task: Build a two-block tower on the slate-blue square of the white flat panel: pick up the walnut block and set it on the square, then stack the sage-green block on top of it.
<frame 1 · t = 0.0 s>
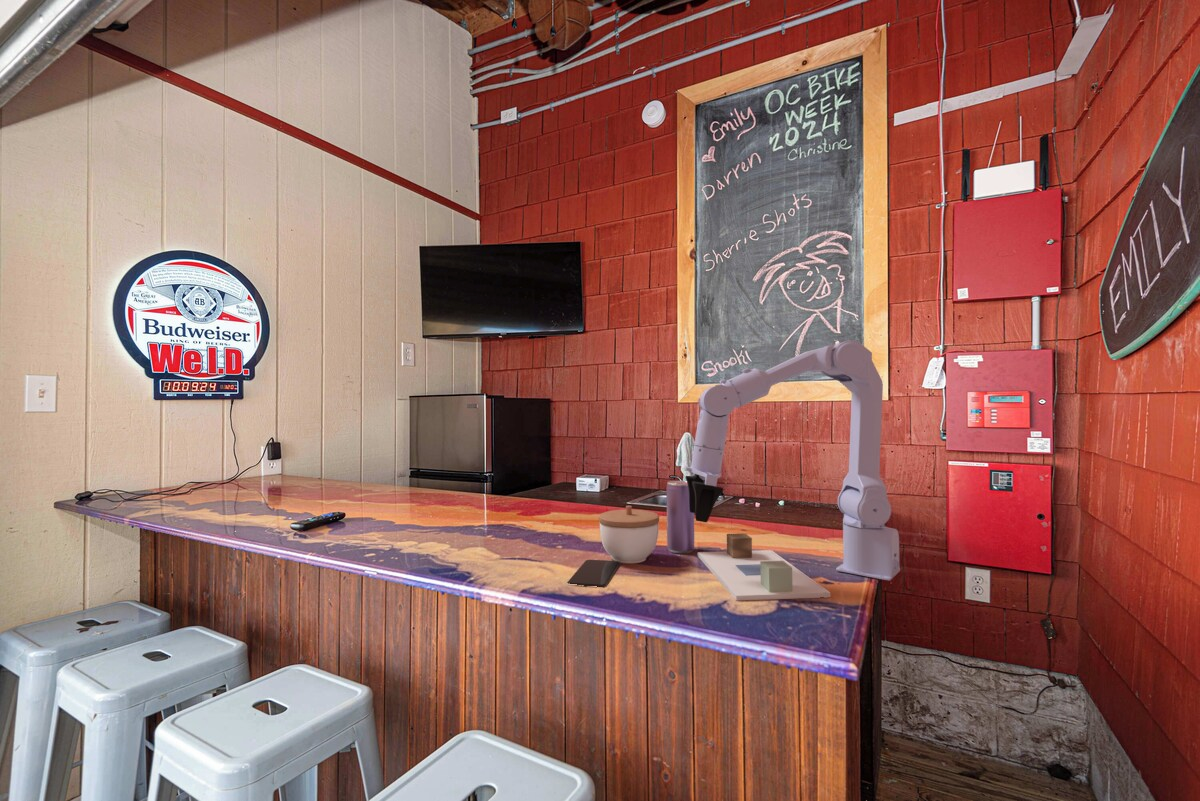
hand: (698, 516, 106), 11 cm above the table, tool pointing down, fingers open, 7 cm apart
white flat panel: (756, 574, 104), on the table
smartphone: (594, 576, 105), on the table
walnut block: (739, 555, 114), point 1 cm above the table, touching white flat panel
lidded bowl: (629, 559, 115), on the table
beverage can: (680, 551, 121), on the table
sage block: (776, 587, 94), point 1 cm above the table, touching white flat panel
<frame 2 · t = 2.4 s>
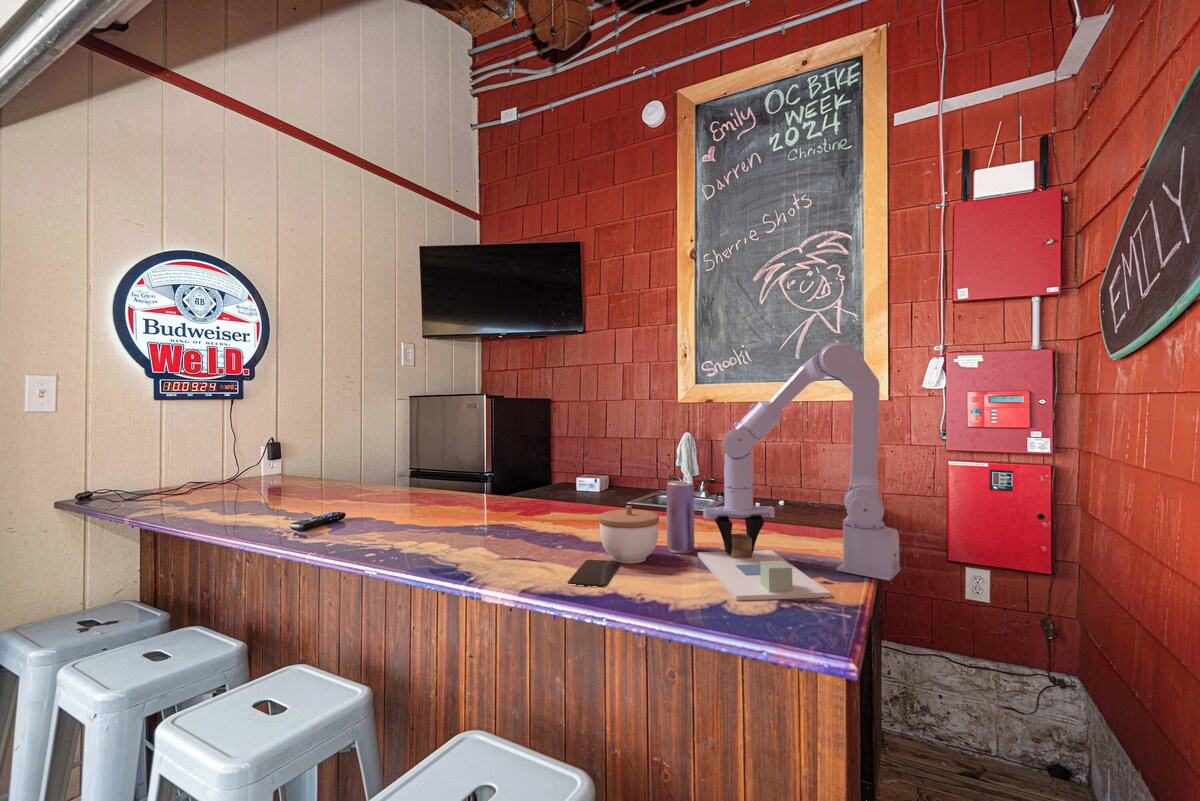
hand: (739, 552, 114), 1 cm above the table, tool pointing down, fingers closed on walnut block, 4 cm apart
walnut block: (739, 555, 114), point 1 cm above the table, touching white flat panel, gripper
everything else where it was.
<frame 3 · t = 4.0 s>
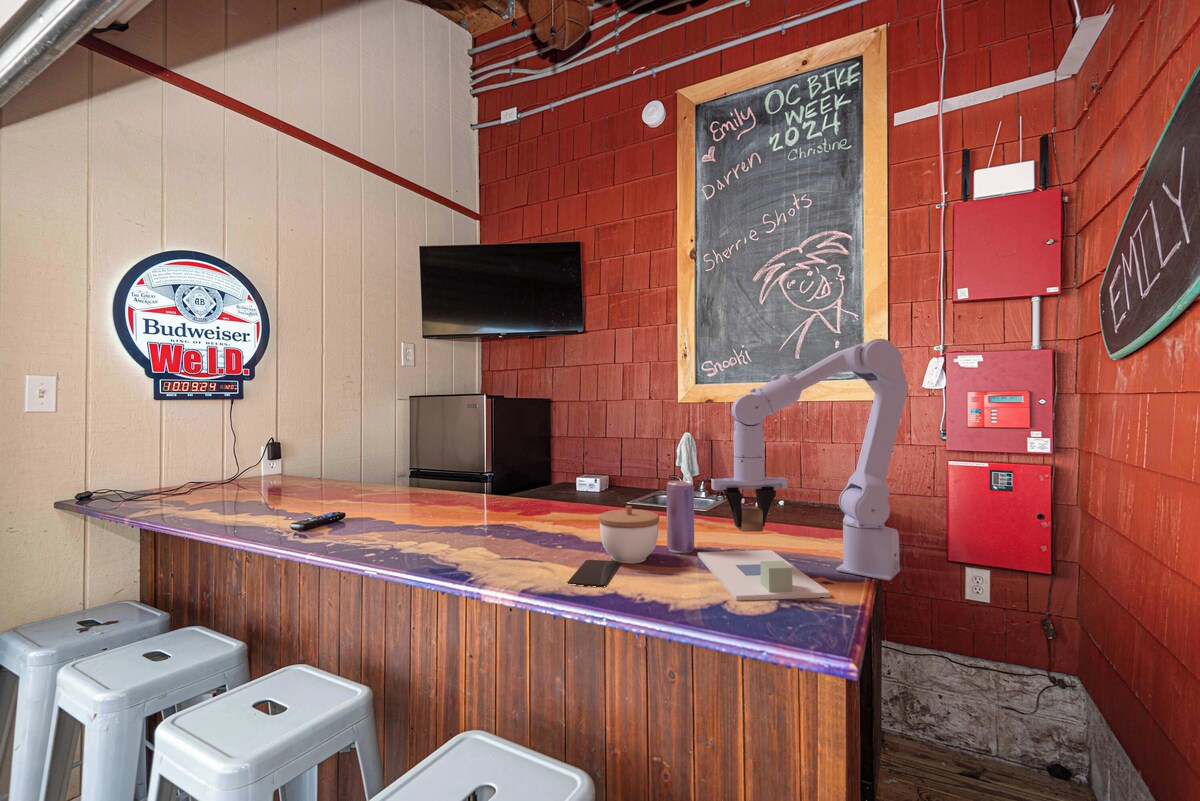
hand: (749, 525, 107), 8 cm above the table, tool pointing down, fingers closed on walnut block, 4 cm apart
walnut block: (749, 529, 107), point 8 cm above the table, touching gripper
everything else where it was.
when the fingers open (3 cm above the table, at t = 5.8 s): walnut block stays where it is, resting on white flat panel.
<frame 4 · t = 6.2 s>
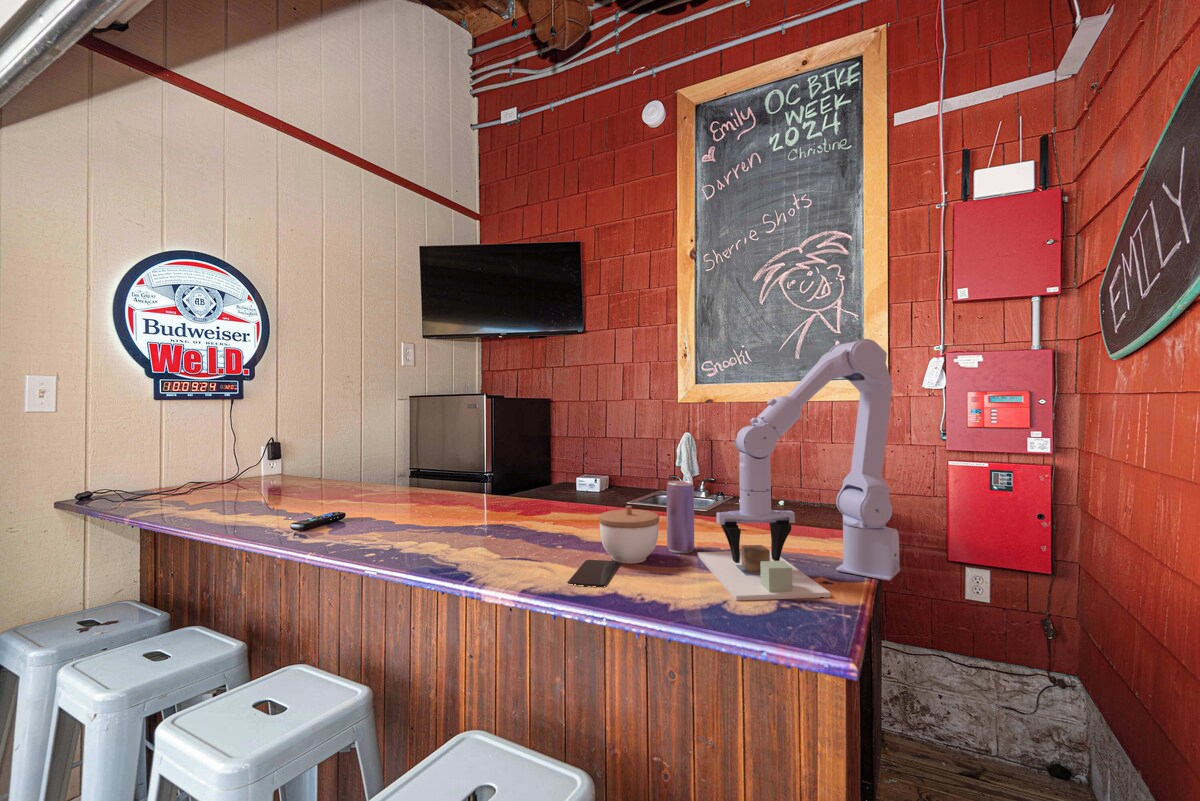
hand: (755, 560, 104), 3 cm above the table, tool pointing down, fingers open, 7 cm apart
walnut block: (755, 569, 104), point 1 cm above the table, touching white flat panel
everything else where it was.
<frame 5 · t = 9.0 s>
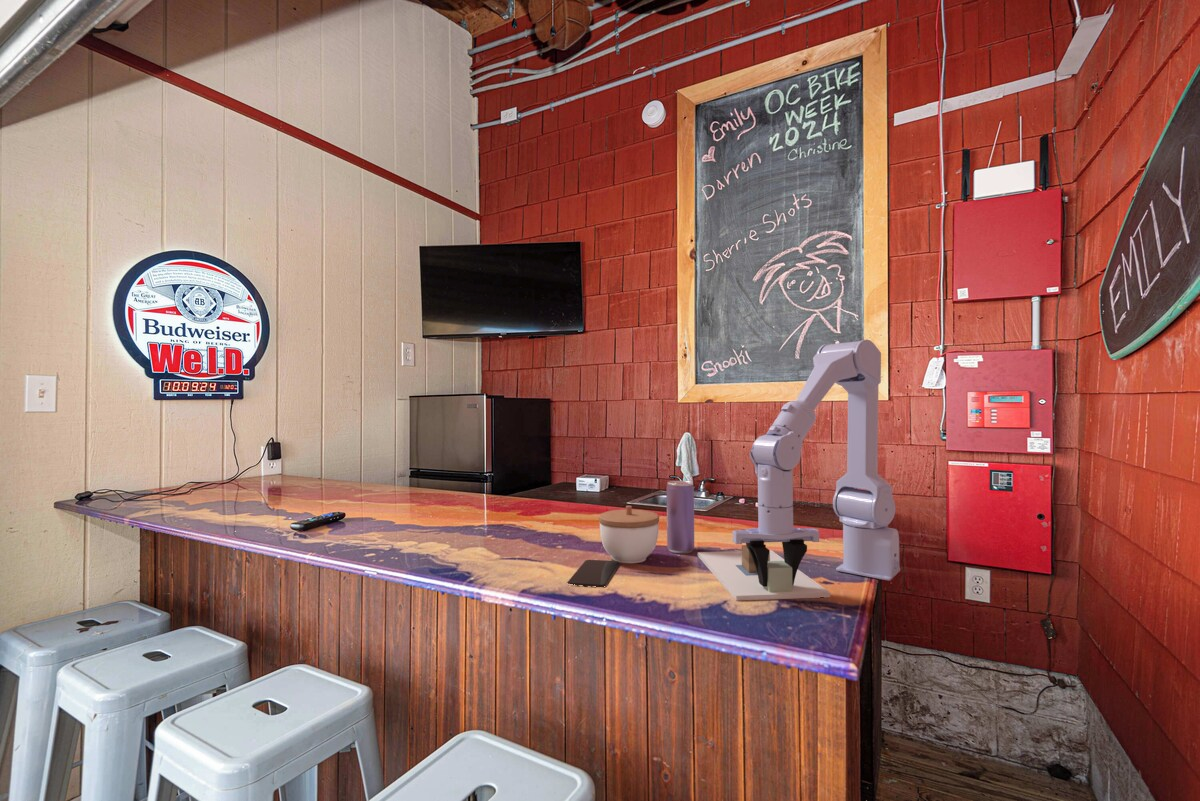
hand: (776, 584, 94), 1 cm above the table, tool pointing down, fingers closed on sage block, 4 cm apart
sage block: (776, 587, 94), point 1 cm above the table, touching white flat panel, gripper
everything else where it was.
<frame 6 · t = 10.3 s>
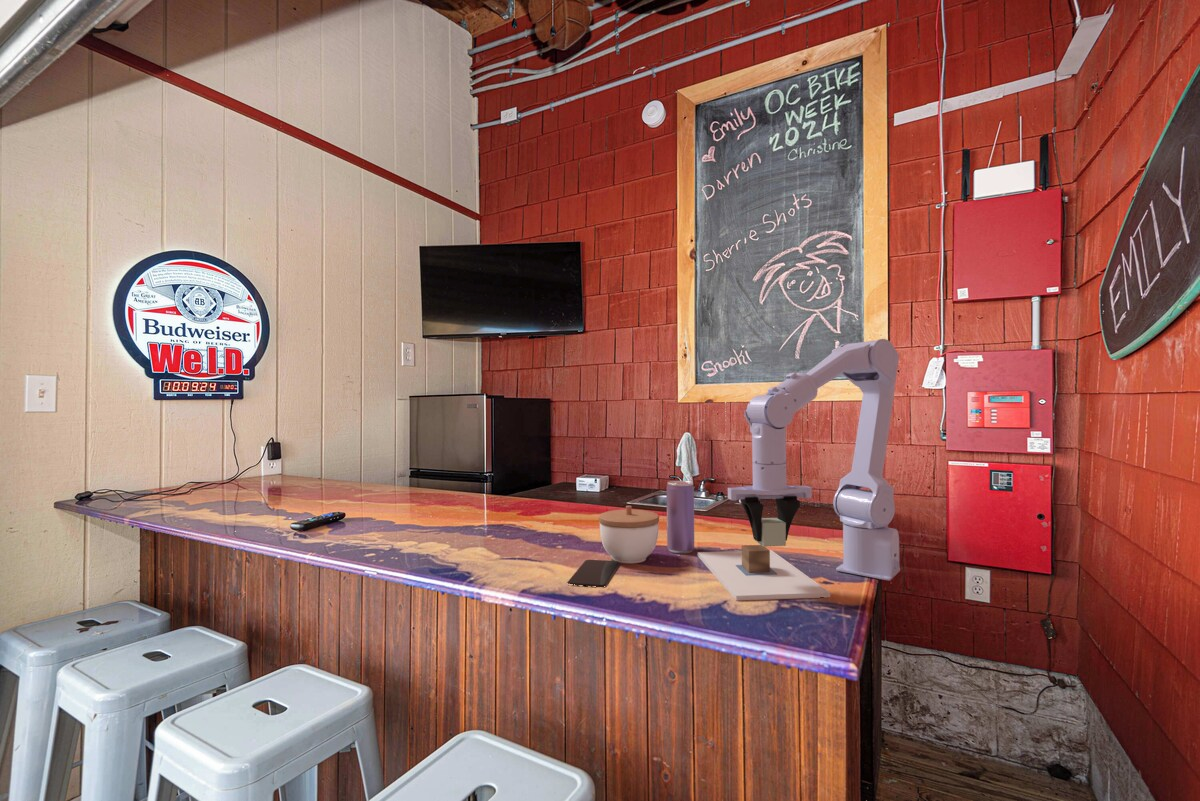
hand: (770, 539, 97), 8 cm above the table, tool pointing down, fingers closed on sage block, 4 cm apart
sage block: (770, 543, 96), point 8 cm above the table, touching gripper
everything else where it was.
when the fingers open (6 cm above the table, at t = 11.6 s): sage block stays where it is, resting on walnut block.
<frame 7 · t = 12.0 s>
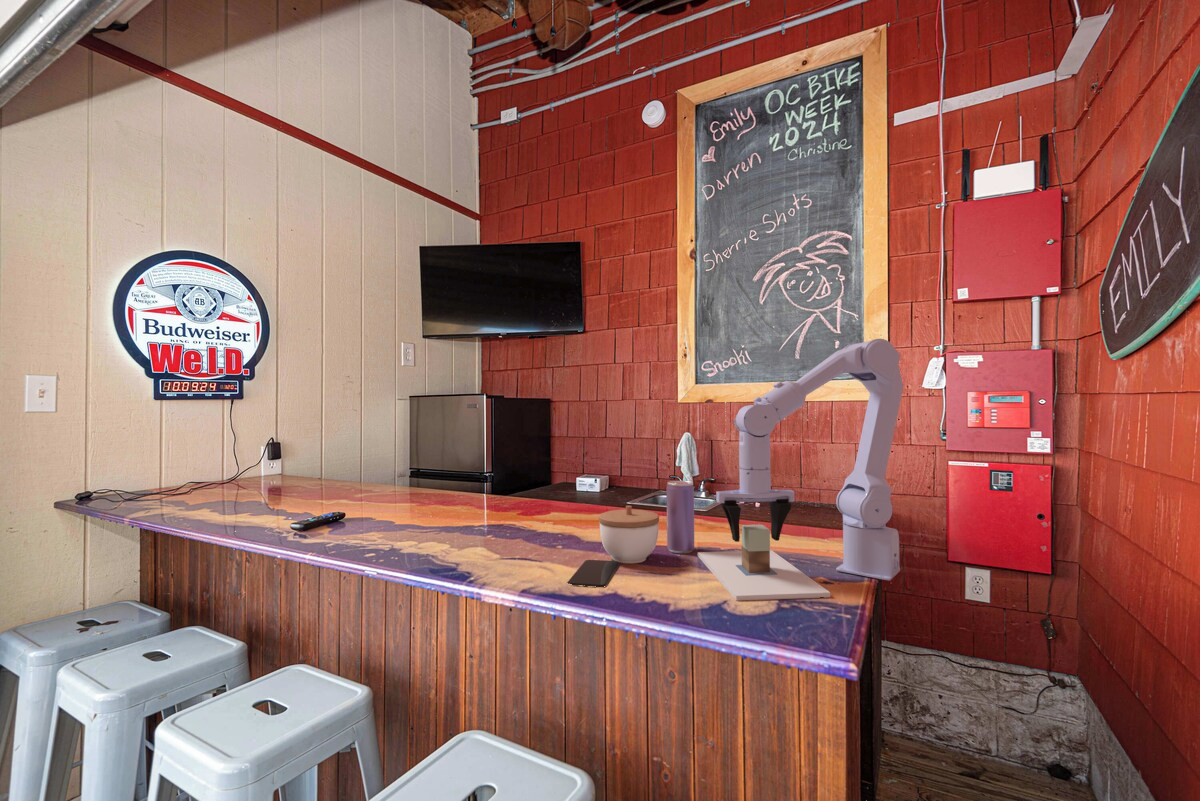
hand: (755, 539, 104), 7 cm above the table, tool pointing down, fingers open, 7 cm apart
walnut block: (755, 569, 104), point 1 cm above the table, touching white flat panel, sage block
sage block: (755, 548, 104), point 5 cm above the table, touching walnut block
everything else where it was.
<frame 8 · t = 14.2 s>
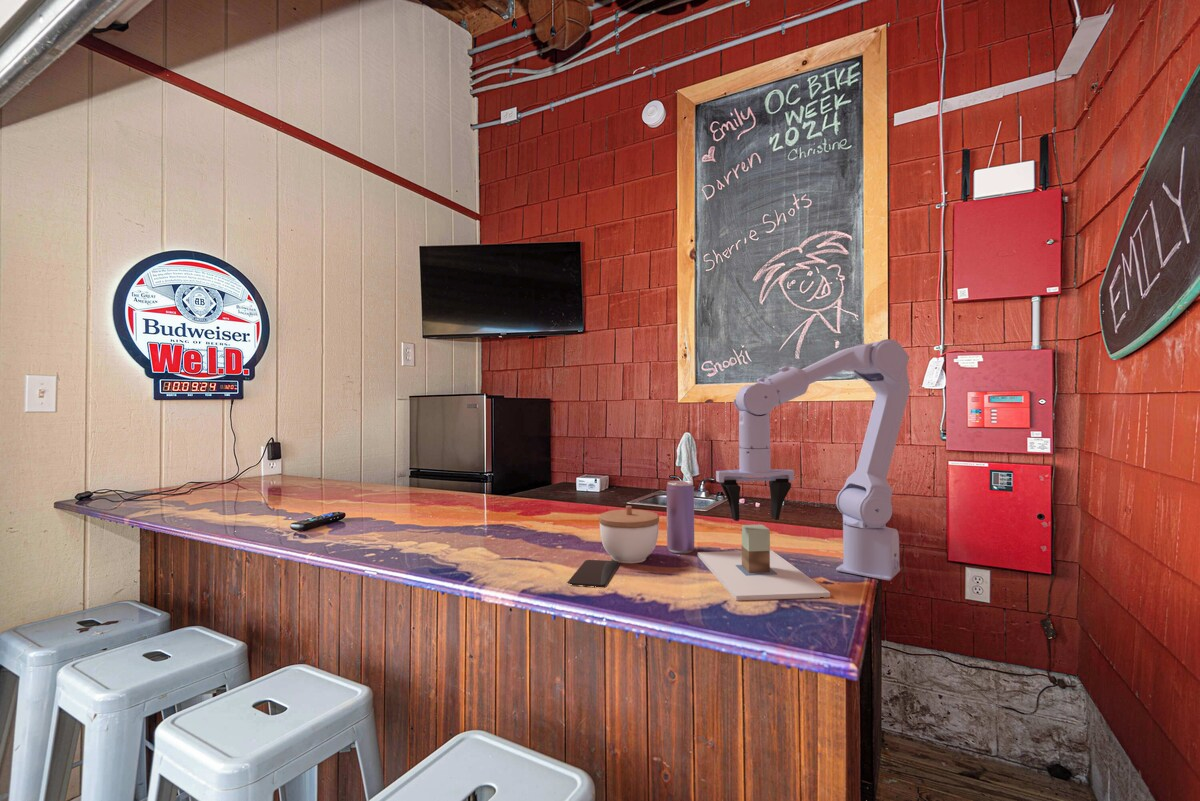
hand: (755, 519, 104), 10 cm above the table, tool pointing down, fingers open, 7 cm apart
nothing on the table moved.
at the end: walnut block 0.1 cm off-centre on the white flat panel, point 0.9 cm above the white flat panel's base; sage block 0.1 cm off-centre on the walnut block, point 4.0 cm above the walnut block's base; sage block tilted 0° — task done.
